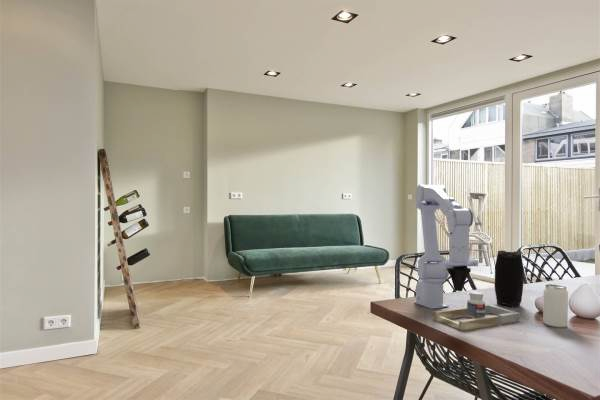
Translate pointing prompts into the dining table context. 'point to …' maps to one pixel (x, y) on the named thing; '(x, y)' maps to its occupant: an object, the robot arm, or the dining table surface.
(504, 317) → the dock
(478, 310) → the pill bottle
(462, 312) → the beige flat u-shaped piece
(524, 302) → the dining table surface
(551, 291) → the can
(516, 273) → the portable speaker
